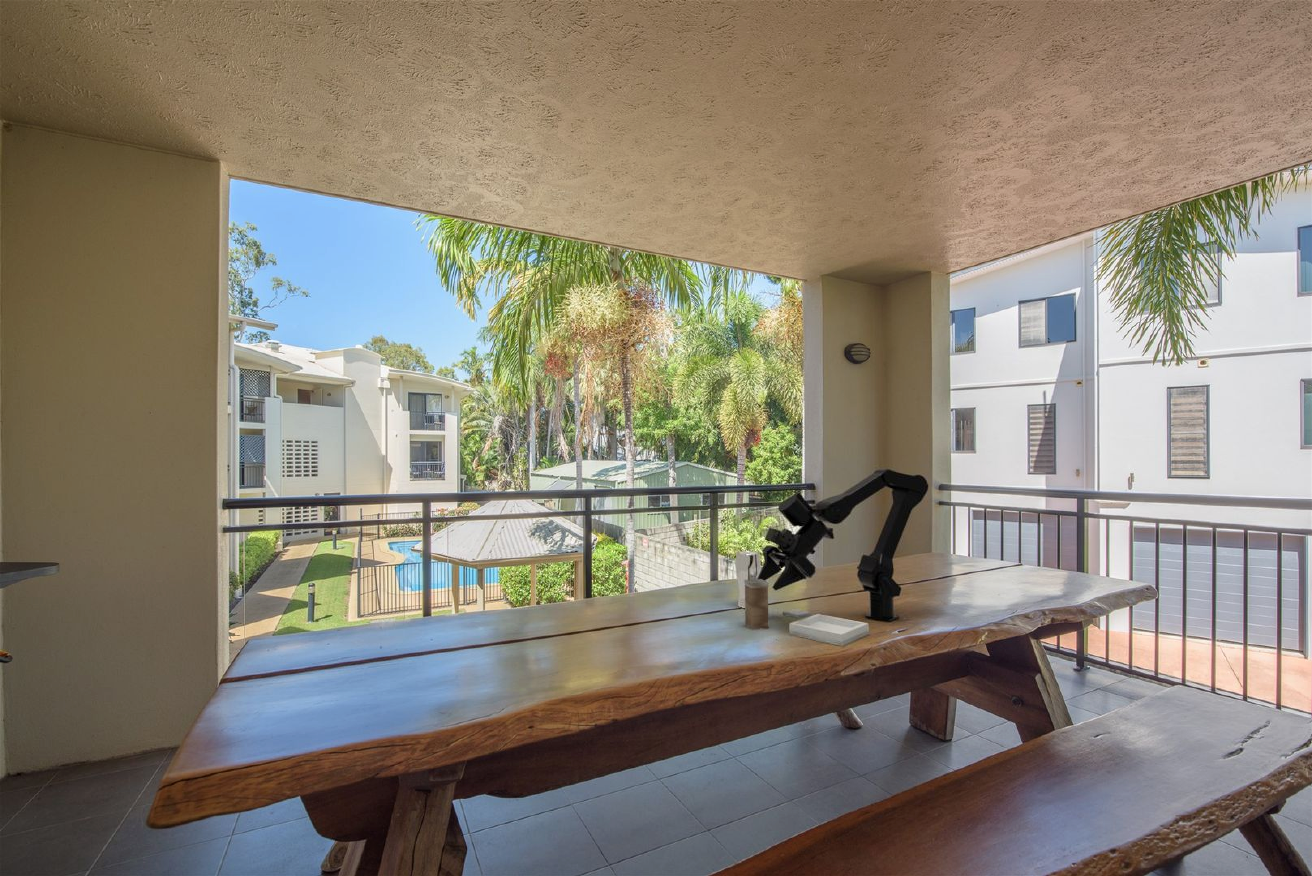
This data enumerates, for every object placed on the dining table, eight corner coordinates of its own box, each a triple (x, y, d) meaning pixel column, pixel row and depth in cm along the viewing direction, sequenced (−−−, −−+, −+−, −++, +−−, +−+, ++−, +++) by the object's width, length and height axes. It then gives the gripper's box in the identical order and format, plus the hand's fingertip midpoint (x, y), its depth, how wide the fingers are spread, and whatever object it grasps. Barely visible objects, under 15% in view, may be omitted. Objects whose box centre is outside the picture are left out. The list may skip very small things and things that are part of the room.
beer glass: (760, 604, 164) (759, 551, 165) (762, 609, 157) (761, 554, 158) (735, 603, 165) (735, 551, 166) (736, 609, 158) (736, 554, 159)
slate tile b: (795, 612, 155) (795, 609, 155) (810, 615, 150) (810, 612, 151) (782, 614, 152) (782, 611, 152) (797, 618, 148) (797, 615, 148)
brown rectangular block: (761, 623, 142) (760, 579, 143) (768, 628, 138) (768, 582, 139) (744, 624, 141) (744, 579, 142) (752, 629, 137) (751, 583, 138)
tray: (817, 624, 142) (817, 613, 142) (868, 634, 133) (868, 623, 133) (789, 634, 133) (789, 623, 133) (841, 646, 124) (841, 634, 124)
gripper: (768, 514, 153) (730, 557, 149) (803, 519, 134) (759, 568, 131) (796, 543, 154) (758, 587, 150) (833, 552, 136) (791, 602, 132)
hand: (765, 585), depth 141 cm, fingers open, 9 cm apart
